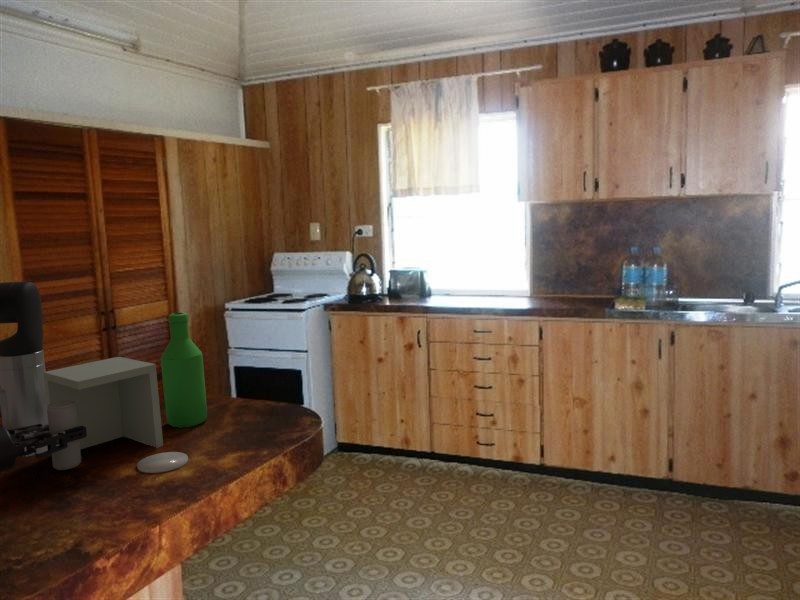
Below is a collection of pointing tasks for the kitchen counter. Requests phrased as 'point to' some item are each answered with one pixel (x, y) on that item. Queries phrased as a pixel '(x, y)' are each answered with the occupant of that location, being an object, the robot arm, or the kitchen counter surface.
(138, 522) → the kitchen counter surface
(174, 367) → the bottle
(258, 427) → the kitchen counter surface
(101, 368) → the shelf housing
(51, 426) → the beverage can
